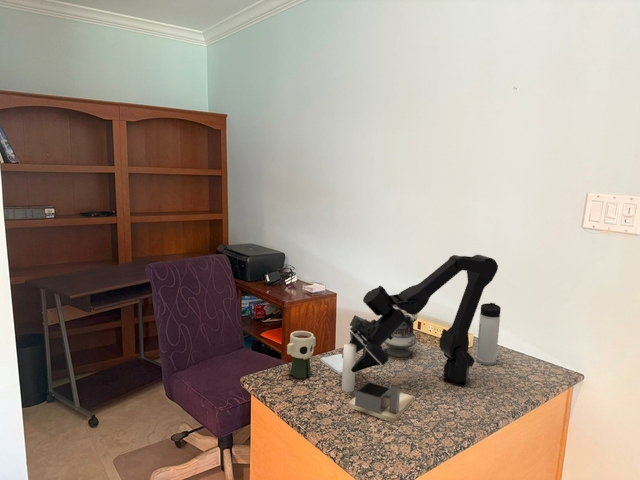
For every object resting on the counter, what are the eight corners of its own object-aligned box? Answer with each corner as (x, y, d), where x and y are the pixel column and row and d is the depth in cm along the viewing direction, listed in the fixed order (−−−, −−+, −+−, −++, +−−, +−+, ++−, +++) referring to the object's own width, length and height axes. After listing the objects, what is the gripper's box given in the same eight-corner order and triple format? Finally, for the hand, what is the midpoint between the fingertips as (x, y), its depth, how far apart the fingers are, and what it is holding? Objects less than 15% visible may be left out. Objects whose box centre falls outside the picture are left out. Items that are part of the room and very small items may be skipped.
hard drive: (320, 357, 148) (339, 372, 137) (341, 353, 152) (361, 367, 141) (320, 362, 148) (339, 377, 137) (341, 358, 152) (361, 372, 141)
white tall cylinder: (356, 388, 129) (358, 345, 127) (350, 393, 126) (352, 349, 124) (345, 385, 131) (347, 342, 129) (339, 389, 128) (341, 346, 126)
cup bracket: (402, 407, 116) (404, 384, 116) (391, 418, 110) (392, 395, 110) (367, 395, 122) (368, 373, 121) (354, 406, 116) (356, 383, 115)
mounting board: (413, 400, 123) (414, 396, 122) (393, 422, 111) (393, 418, 111) (371, 387, 130) (371, 383, 129) (347, 407, 118) (347, 402, 118)
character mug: (294, 384, 130) (295, 341, 128) (279, 376, 135) (280, 335, 133) (321, 374, 137) (323, 334, 135) (306, 367, 142) (307, 327, 140)
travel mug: (497, 361, 153) (502, 304, 150) (493, 367, 147) (498, 308, 144) (478, 356, 156) (483, 301, 153) (474, 362, 150) (479, 305, 148)
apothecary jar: (381, 345, 163) (384, 298, 161) (415, 349, 161) (418, 301, 158) (379, 358, 151) (382, 307, 149) (415, 362, 149) (419, 310, 146)
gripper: (358, 298, 135) (321, 334, 134) (380, 317, 117) (337, 359, 116) (381, 322, 138) (345, 358, 137) (405, 344, 120) (364, 386, 119)
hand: (347, 364), depth 127 cm, fingers open, 9 cm apart
